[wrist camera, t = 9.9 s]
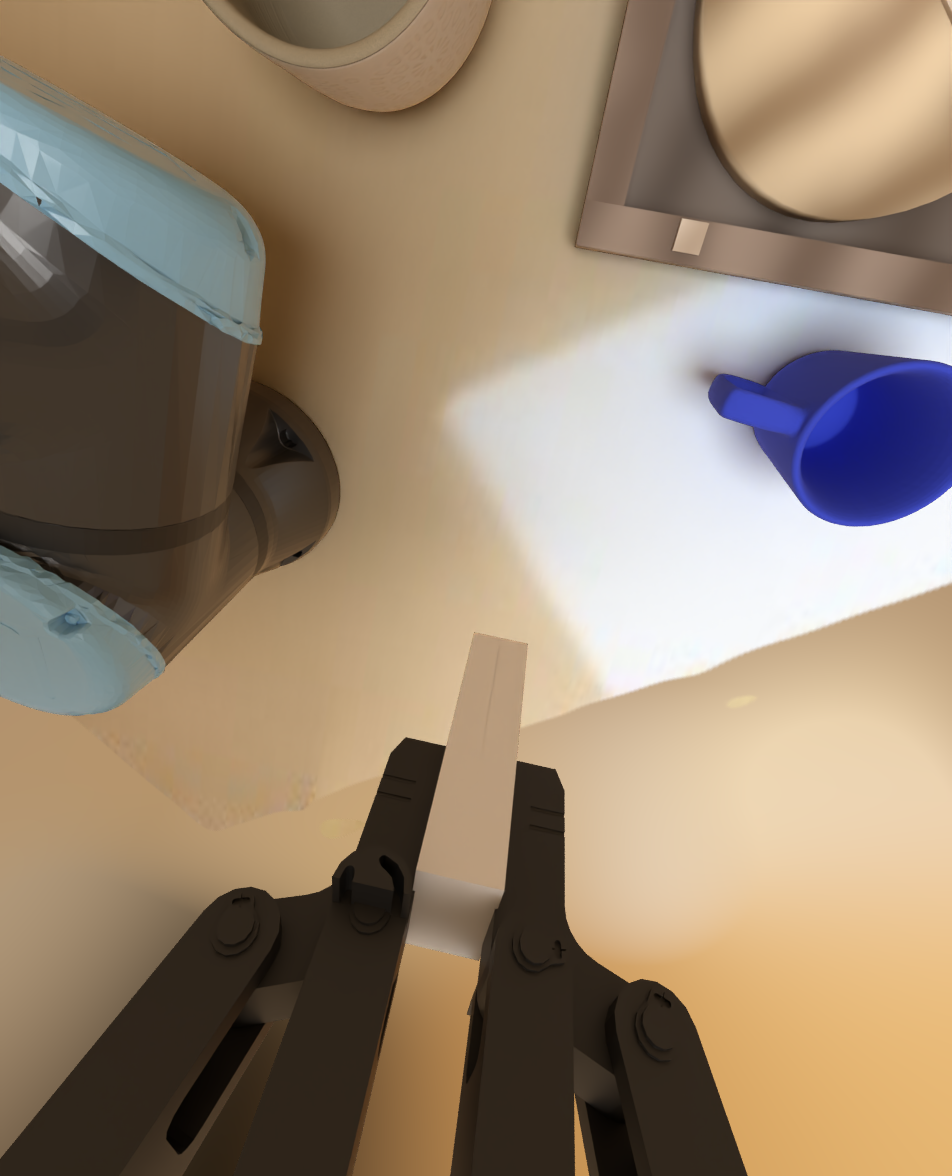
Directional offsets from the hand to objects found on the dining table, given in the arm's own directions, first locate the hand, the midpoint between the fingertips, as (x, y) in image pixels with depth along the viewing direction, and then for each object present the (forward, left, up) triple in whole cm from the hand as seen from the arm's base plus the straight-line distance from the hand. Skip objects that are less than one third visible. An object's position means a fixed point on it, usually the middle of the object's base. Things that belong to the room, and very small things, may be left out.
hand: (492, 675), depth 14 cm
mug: (+15, +5, -27) cm, 31 cm away
